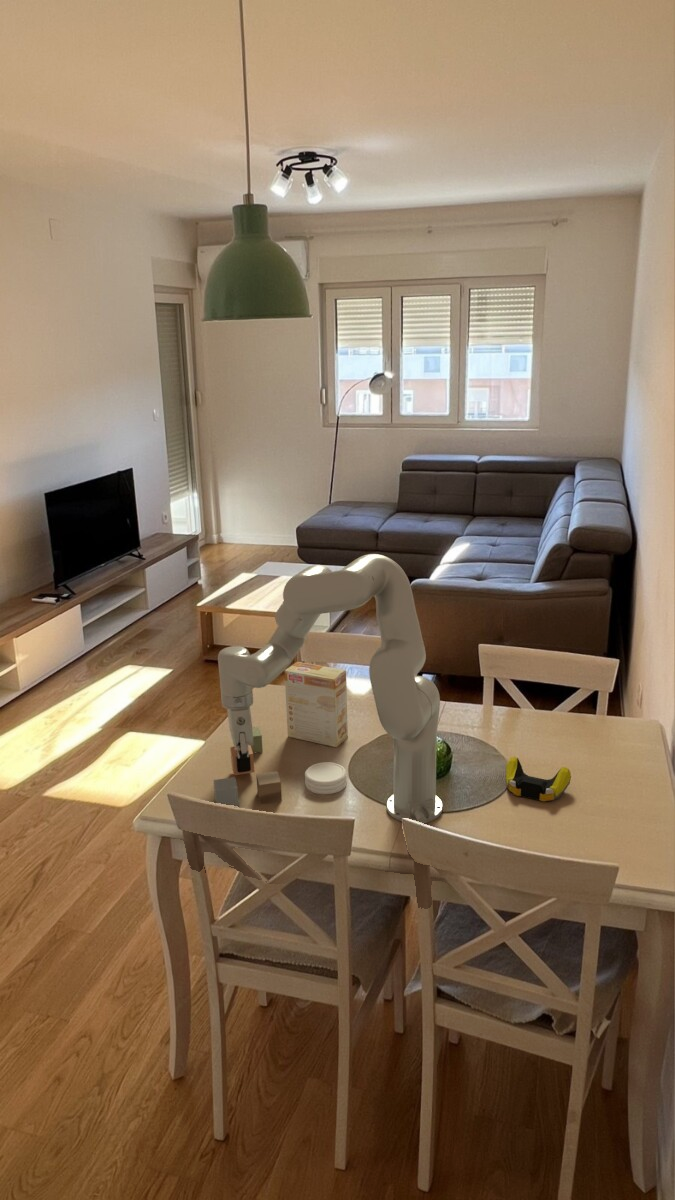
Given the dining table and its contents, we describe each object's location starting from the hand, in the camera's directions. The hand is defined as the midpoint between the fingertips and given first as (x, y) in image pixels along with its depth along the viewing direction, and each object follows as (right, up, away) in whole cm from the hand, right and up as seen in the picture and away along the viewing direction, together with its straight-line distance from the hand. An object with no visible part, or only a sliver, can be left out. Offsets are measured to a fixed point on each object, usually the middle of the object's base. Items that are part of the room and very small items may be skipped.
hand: (242, 764), depth 203 cm
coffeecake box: (+18, +4, +19) cm, 26 cm away
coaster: (+21, -4, -4) cm, 21 cm away
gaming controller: (+69, -4, -9) cm, 70 cm away
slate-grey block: (-2, -7, -11) cm, 13 cm away
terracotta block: (0, -1, 0) cm, 1 cm away
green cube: (+1, +1, +13) cm, 13 cm away
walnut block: (+7, -6, -9) cm, 13 cm away
